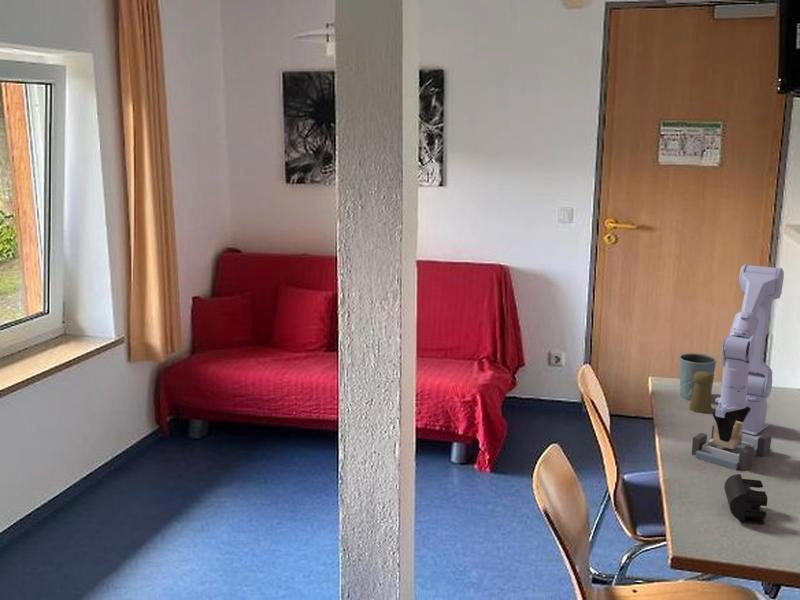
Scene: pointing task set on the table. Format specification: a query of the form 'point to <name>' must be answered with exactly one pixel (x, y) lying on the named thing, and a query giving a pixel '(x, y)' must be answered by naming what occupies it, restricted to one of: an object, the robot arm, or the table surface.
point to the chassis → (731, 451)
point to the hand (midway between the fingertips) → (729, 437)
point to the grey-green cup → (694, 371)
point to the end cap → (745, 499)
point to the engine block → (735, 436)
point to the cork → (701, 392)
